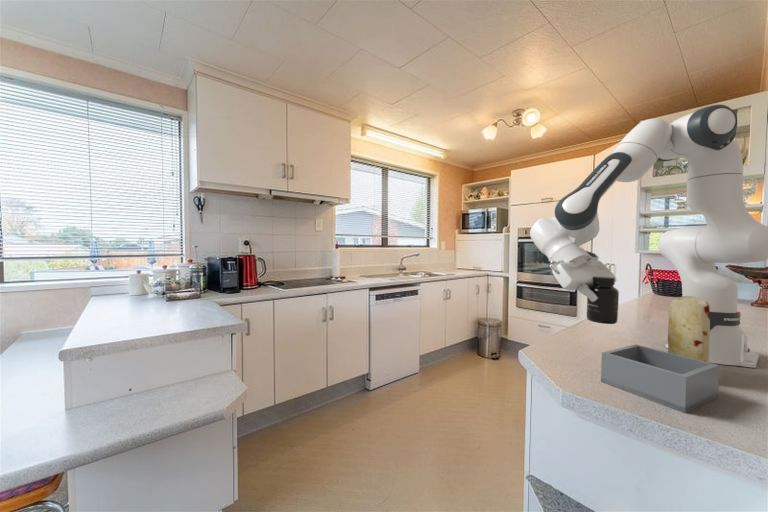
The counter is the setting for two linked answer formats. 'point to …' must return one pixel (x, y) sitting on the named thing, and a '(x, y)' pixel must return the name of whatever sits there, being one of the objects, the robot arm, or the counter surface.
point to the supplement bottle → (603, 301)
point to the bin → (661, 376)
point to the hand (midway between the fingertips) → (605, 299)
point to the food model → (689, 328)
